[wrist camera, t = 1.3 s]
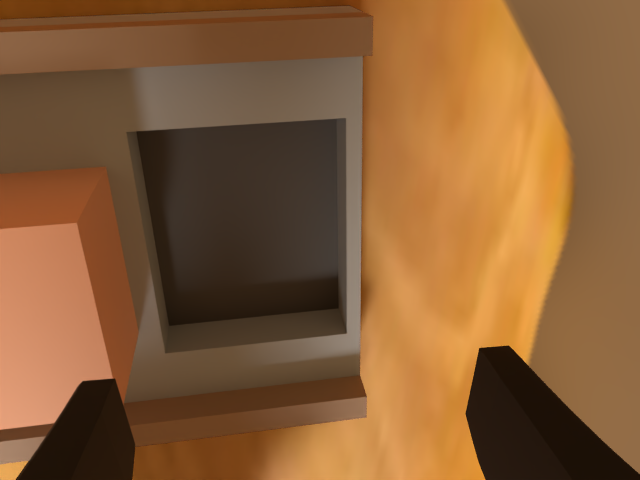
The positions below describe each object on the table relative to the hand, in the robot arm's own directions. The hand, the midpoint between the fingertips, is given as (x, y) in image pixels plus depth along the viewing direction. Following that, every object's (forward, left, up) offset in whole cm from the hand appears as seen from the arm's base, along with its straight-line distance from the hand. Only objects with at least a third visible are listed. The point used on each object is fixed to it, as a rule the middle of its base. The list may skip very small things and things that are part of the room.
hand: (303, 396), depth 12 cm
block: (-1, +8, -8) cm, 11 cm away
